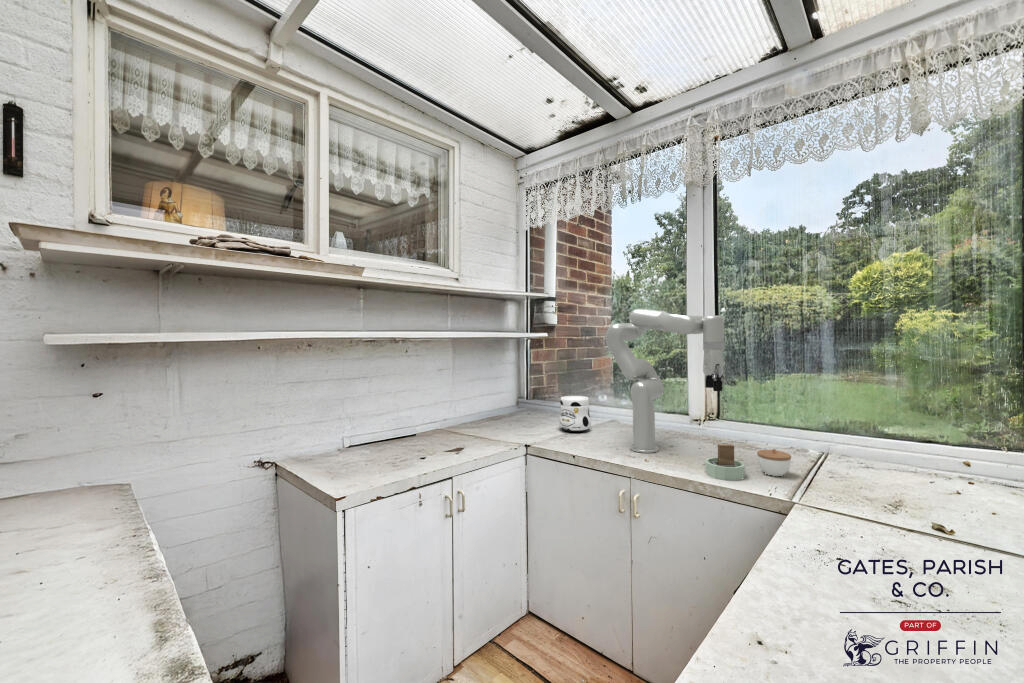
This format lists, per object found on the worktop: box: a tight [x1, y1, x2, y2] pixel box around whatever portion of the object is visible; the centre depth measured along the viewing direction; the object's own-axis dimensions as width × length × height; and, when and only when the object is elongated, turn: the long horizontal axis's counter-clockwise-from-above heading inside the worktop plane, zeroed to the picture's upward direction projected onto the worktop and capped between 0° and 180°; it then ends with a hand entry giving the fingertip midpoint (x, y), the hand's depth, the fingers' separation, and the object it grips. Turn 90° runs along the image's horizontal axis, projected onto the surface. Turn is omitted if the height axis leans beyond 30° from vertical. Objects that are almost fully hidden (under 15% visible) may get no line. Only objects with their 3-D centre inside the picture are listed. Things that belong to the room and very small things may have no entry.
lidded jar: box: [756, 448, 792, 477], centre depth 159 cm, size 11×11×9 cm
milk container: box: [558, 395, 592, 433], centre depth 234 cm, size 17×17×18 cm
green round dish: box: [704, 456, 746, 481], centre depth 159 cm, size 13×13×4 cm
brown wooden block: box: [717, 443, 735, 465], centre depth 159 cm, size 2×5×10 cm, turn 82°
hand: (713, 389), depth 171 cm, fingers open, 9 cm apart
